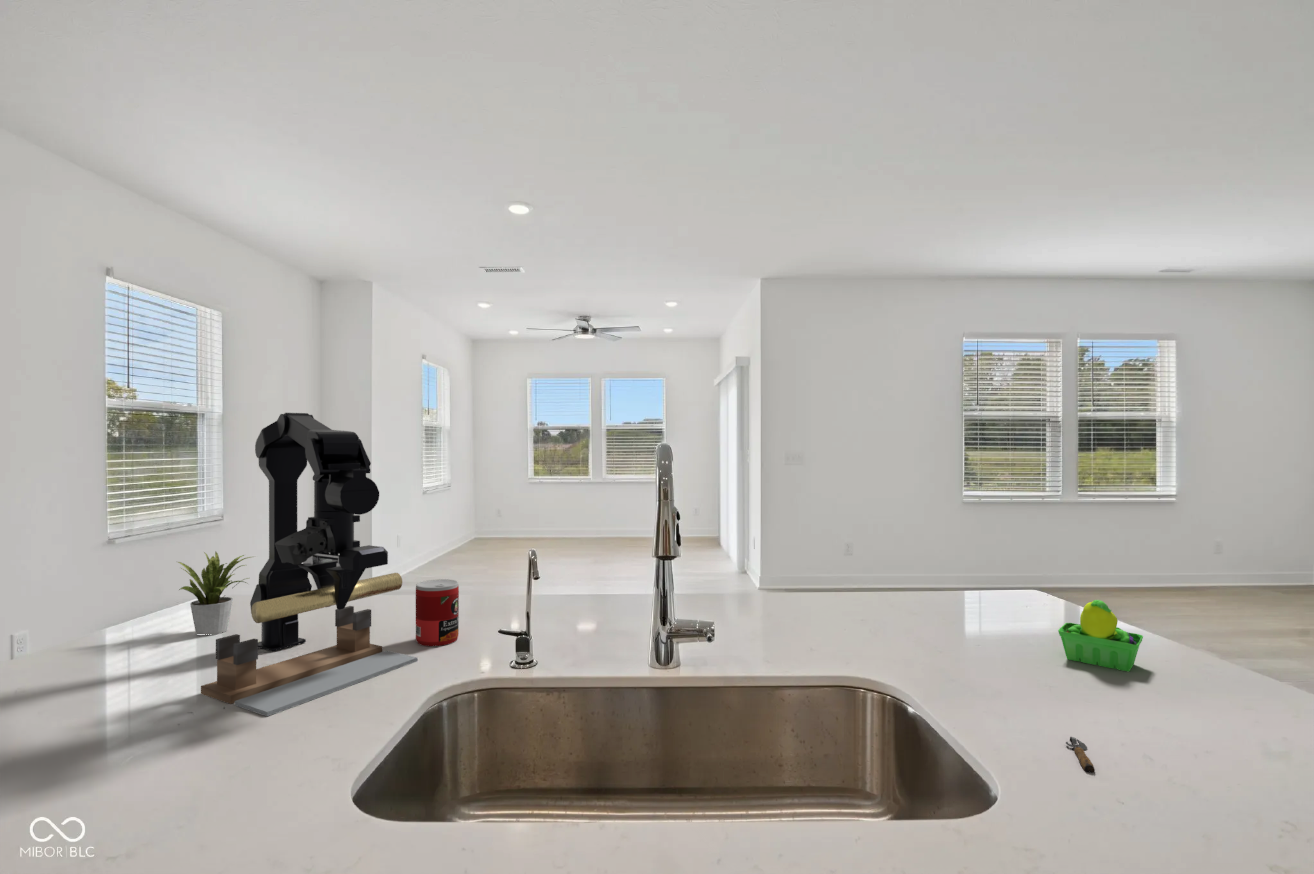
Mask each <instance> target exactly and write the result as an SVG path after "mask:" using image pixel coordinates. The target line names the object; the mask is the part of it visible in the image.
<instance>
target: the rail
mask: <svg viewBox="0 0 1314 874" xmlns="http://www.w3.org/2000/svg"><path fill="white" fill-rule="evenodd" d="M402 585H403V578H402V575H401V574H400V573H398V572H392V573H387V574H383V575H379V576H378V575H377V576H374V577H368V578H364V579H359V580H358V582H357V584H356V586H355V588H354V590H353V592H352V594H351V596H350V598H349V600H348V602H347V603H349V602H353V601H356V600H361V599H365V598H369V597H373V596H378V595H381V594H385V593H390V592H393V591H397V590H400V589H401V588H402ZM328 606H330V607H332V606H336V601H335V589H334V586H330V587H326V588H321V589H313V590H312V589H311V591H307V592H302V593H297V594H293V595H288V596H283V597H278V598H274V599H269V600H264V601H260V602H255V603H254V604H253V606H252V609H251V608H250V614H251V617H252V620H253V621H254V623H256V624H262V622H266V621H270V620H274V619H279V618H283V617H287V616H291V615H295V614H298V615H299V614H302V613H303V614H304V613H307V612H311V611H317V610H319V609H323V608H329V607H328Z"/></svg>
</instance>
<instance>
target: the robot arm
mask: <svg viewBox="0 0 1314 874" xmlns="http://www.w3.org/2000/svg"><path fill="white" fill-rule="evenodd" d="M254 448H255V450H254V452H255V456H256V458H257V459H258V468H259V469H260V470H261V472H263V474H264V476H265V477H266V478H267V480H268V559H267V561H266V563H265V564H264V566H263V567H262V568H261V570H260V571H259V574H258V583H257V584H256V585H255V588H254V591H253V594H252V596H251V600H250V603H249V604H250V605H249V606H250V610H251V609H252V606H253V604H254V603H255V602H260V601H264V600H269V599H274V598H278V597H283V596H288V595H293V594H297V593H302V592H307V591H311V590H312V588H313V585H312V583H311V581H310V578H309V574H310V575H311V576H312V579H313V581H314V584H315V586H316V588H317V589H321V588H326V587H330V586H334V589H335V601H336V605H335V607H336V609H338V610H341V609H344V608H345V607H347V604H348V603H349V602H348V600H349V598H350V596H351V594H352V592H353V590H354V588H355V586H356V584H357V582H358V580H361V579H360V578H362V575H363V574H364V572H365V570H366V569H371V568H376V567H381V566H386V565H389V552H388V551H387V549H386V548H385V547H384V546H377V545H370V544H369V545H364V546H361V540H356V539H355V523H360V522H361V515H364V514H368V513H369V512H371V511H372V510H373V509H374V508H375V507H376V505H378V502H379V500H380V490H379V488H378V485H377V483H376V482H375V481H373V479H371V478H369V477H367V474H370V473H371V468H370V466H371V464H372V462H371V461H370V458H369V456H368V453H367V452H366V449H365V447H364V445H363V442H362V439H360V437H359V435H358V434H357V432H354V431H350V430H338V429H336V430H335V429H332V428H330V427H328V426H327V425H325V424H324V423H322V422H320V421H319V420H317V419H316V418H314V416H313V414H309V413H307V412H284V413H280V414H279V416H278V418H277V419H276V420H275V421H273V422H272V423H271V424H269V425H267V426H265V427H263V428H261V430H260V432H259V434H258V437H257V438H256V441H255V445H254ZM308 464H309V467H310V468H311V471H312V472H313V476H312V480H313V481H314V482H313V483H314V484H313V487H314V488H313V489H314V491H313V493H314V494H313V496H314V497H313V499H314V501H313V503H314V505H313V510H314V511H313V516H310V517H309V516H308V517H307V520H306V522H305V524H306V525H305V528H302V529H301V530H298V480H299V478H300V477H301V476H302V474H303V472H304V471H305V469H306V468H307V466H308ZM330 607H331V606H328V607H327V608H330ZM299 624H300V623H299V614H295V615H291V616H287V617H283V618H279V619H274V620H270V621H266V622H262V623H261V641H258V649H262V650H266V651H270V652H276V651H279V650H282V649H283V650H284V649H286V648H289V647H293V646H297V645H300V644H303V643H306V642H307V641H306V640H307V639H306V638H303V637H299V628H300V627H299Z"/></svg>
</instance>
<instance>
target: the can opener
mask: <svg viewBox="0 0 1314 874" xmlns="http://www.w3.org/2000/svg"><path fill="white" fill-rule="evenodd" d="M1069 742H1071V744H1070V743H1069ZM1069 742H1068V741H1065V745H1067V746H1069V747H1071V748H1073V752H1074V754H1075V756H1076V757H1077V758H1078V762H1079V763H1080V765H1081V767H1082V769H1083V770H1084V771H1085V772H1086V773H1091V774H1093V773H1095V770H1096V768H1095V767H1094V765H1093V763H1092V761H1091V759H1090V758H1089V757H1088V756H1087V754H1086V752H1085V751H1087V750H1088V746H1087V745H1086V744H1085V743H1084V742H1082V741H1080V739H1077V738H1076V737H1074V736H1070V737H1069Z"/></svg>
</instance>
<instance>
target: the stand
mask: <svg viewBox="0 0 1314 874" xmlns="http://www.w3.org/2000/svg"><path fill="white" fill-rule="evenodd" d="M334 613H335V614H334V615H335V616H334V627H336V645H332V646H329V647H325V648H322V649H319V650H316V651H313V652H309V653H306V654H303V655H299V656H295V657H292V658H289V659H286V660H282V661H280V662H275V663H272V664H270V665H265V666H263V667H258V668H257V660H258V659H259V648H258V642H259V639H258V638H251V639H248V640H243V641H241V635H240V634H236V633H234V634H232V635H228V636H224V637H219V638H216V639H215V660H216V681H213V682H210V683H206V684H204V685H201V686H200V694H201V695H202V696H206V697H209V698H212V699H214V700H218V701H221V702H224V703H226V704H230V705H232V704H235V701H236V700H239V699H242V698H245V697H248V696H251V695H254V694H257V693H260V692H263V691H266V690H269V689H272V688H275V687H278V686H281V685H284V684H287V683H290V682H293V681H296V680H299V679H302V678H305V677H308V676H311V675H314V674H317V673H320V672H323V671H326V670H329V669H332V668H335V667H338V666H341V665H344V664H347V663H350V662H353V661H356V660H359V659H362V658H365V657H368V656H371V655H374V654H377V653H380V652H383V646H382V645H379V644H373V643H371V642H370V641H371V640H370V637H371V635H370V633H371V627H372V609H370V608H369V609H368V608H367V609H363V610H359V611H355V606H354V605H348V606H345V608H344V609H341V610H338V609H337V608H336V609H334Z"/></svg>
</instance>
